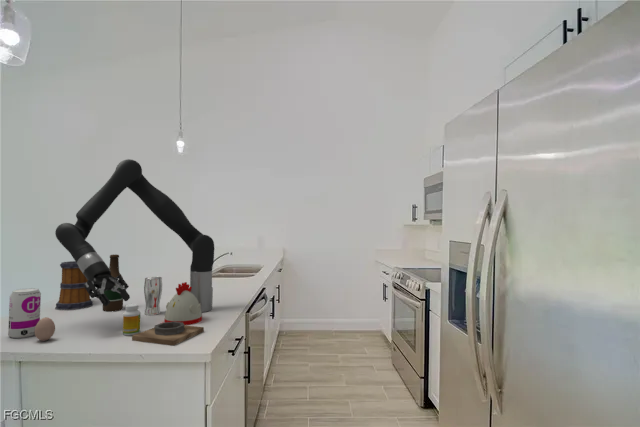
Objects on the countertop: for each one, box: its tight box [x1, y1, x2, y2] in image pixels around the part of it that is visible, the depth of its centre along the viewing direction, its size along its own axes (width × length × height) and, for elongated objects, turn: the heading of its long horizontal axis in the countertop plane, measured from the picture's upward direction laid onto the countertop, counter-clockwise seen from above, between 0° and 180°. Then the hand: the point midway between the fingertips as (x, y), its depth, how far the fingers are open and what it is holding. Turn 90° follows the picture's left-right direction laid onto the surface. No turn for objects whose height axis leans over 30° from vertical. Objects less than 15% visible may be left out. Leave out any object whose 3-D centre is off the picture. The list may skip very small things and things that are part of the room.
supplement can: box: [7, 287, 42, 339], centre depth 124 cm, size 8×8×15 cm
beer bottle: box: [102, 254, 124, 313], centre depth 161 cm, size 8×8×24 cm
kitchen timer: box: [163, 281, 203, 326], centre depth 144 cm, size 14×14×15 cm
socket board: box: [131, 322, 205, 346], centre depth 125 cm, size 16×16×4 cm
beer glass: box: [143, 276, 163, 316], centre depth 155 cm, size 7×7×15 cm
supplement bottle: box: [122, 303, 141, 336], centre depth 127 cm, size 5×5×10 cm
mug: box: [54, 260, 94, 311], centre depth 168 cm, size 19×14×20 cm
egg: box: [34, 316, 56, 342], centre depth 118 cm, size 5×5×7 cm
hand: (118, 301), depth 129 cm, fingers open, 8 cm apart
